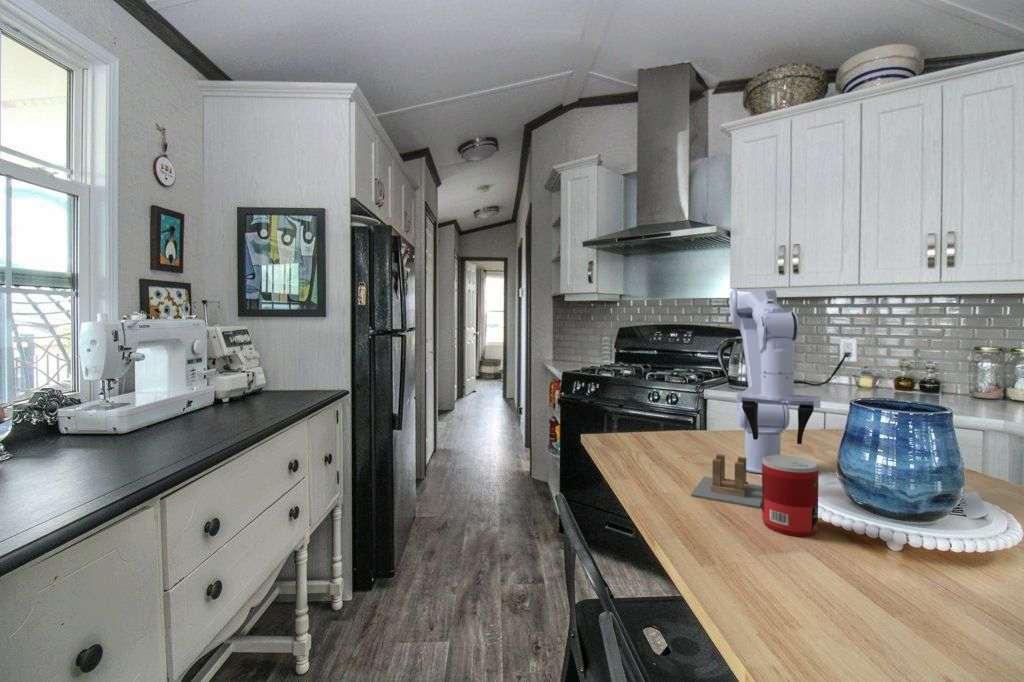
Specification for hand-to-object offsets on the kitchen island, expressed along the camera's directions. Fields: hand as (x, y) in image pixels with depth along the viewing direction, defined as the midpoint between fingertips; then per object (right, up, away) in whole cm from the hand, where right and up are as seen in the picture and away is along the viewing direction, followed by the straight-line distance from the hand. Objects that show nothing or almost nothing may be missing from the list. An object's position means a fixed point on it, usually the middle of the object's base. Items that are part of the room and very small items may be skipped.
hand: (777, 440), depth 95 cm
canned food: (-7, -11, -16) cm, 21 cm away
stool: (-10, -10, 0) cm, 14 cm away
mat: (-10, -10, 0) cm, 14 cm away
